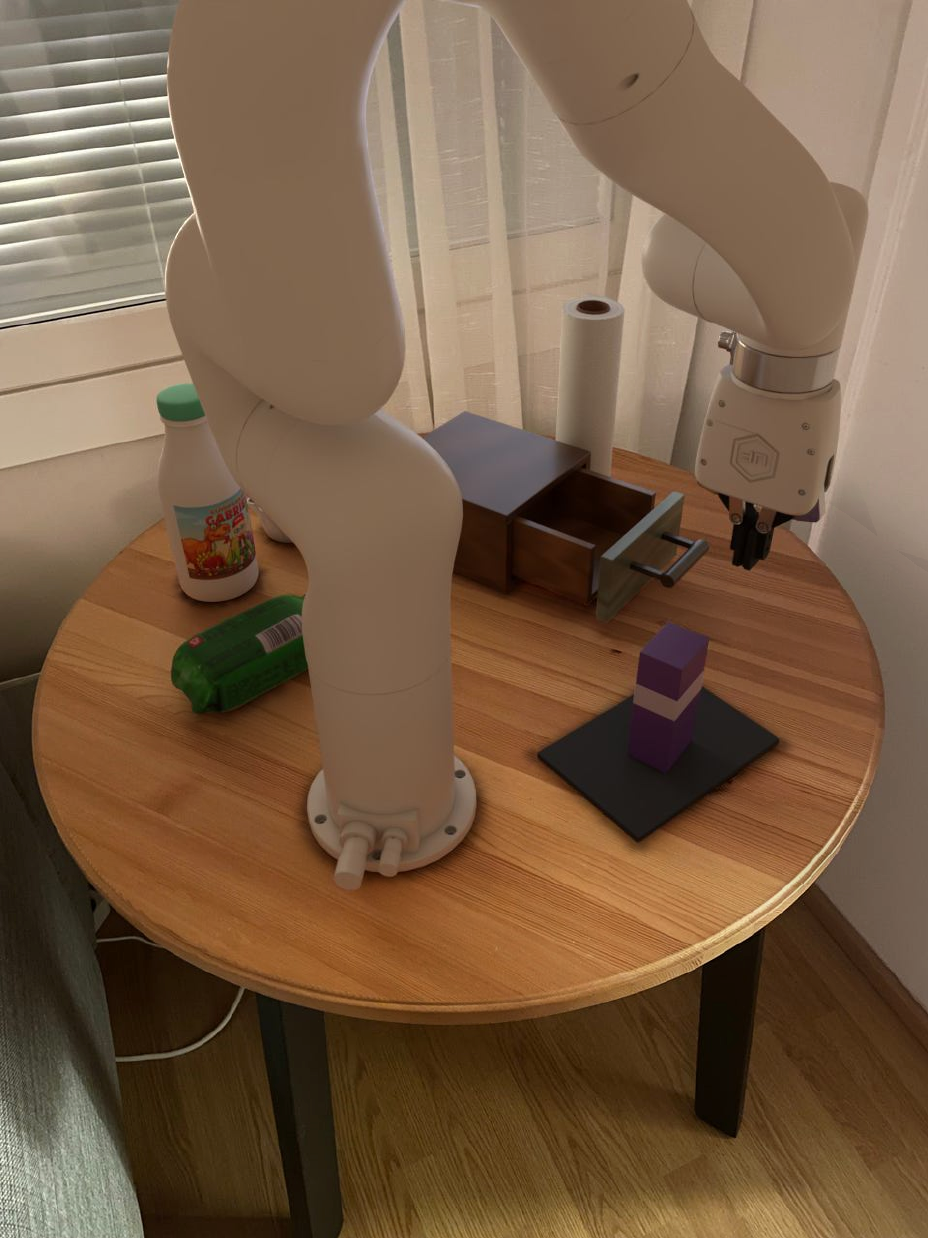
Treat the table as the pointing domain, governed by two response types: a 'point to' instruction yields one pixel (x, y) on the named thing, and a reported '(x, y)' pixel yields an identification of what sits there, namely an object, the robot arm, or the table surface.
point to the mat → (642, 790)
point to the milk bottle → (202, 504)
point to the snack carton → (667, 695)
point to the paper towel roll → (589, 376)
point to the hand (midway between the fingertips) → (747, 560)
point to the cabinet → (498, 487)
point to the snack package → (242, 656)
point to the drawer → (601, 541)
